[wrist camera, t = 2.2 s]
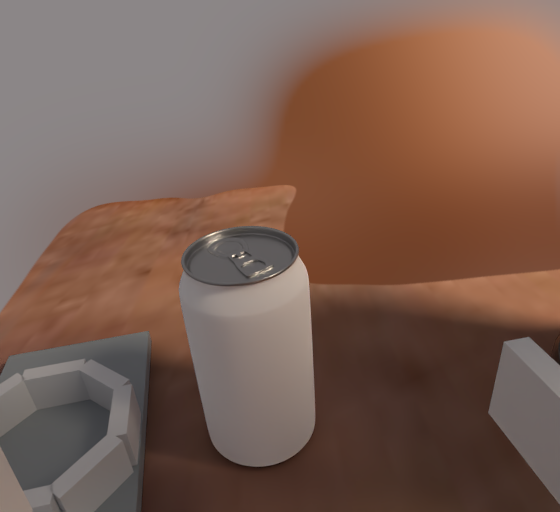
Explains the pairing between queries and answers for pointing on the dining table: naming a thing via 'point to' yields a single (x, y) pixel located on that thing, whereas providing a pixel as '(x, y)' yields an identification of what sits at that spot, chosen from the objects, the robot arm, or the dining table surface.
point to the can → (251, 342)
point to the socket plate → (78, 424)
